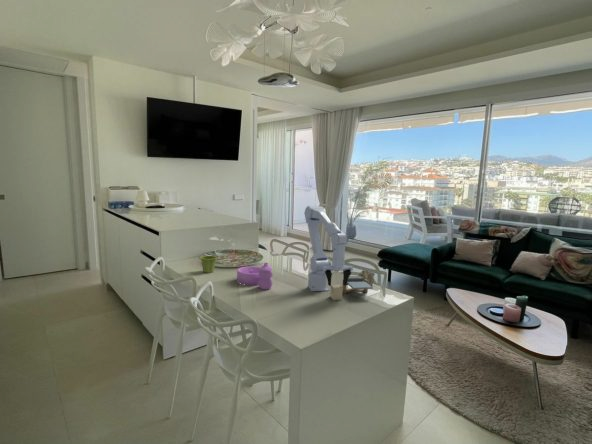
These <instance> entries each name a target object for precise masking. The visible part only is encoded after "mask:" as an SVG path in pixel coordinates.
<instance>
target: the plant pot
mask: <svg viewBox="0 0 592 444" xmlns="http://www.w3.org/2000/svg"><path fill="white" fill-rule="evenodd" d="M199 258H200V261H201V266H202V271H203V273H207V274H209V273H210V274H211V273H213V271H215V264H216V260H217V258H218V257H217V256H215V255H201V256H200V257H199Z"/></svg>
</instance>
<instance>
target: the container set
mask: <svg viewBox="0 0 592 444" xmlns="http://www.w3.org/2000/svg"><path fill="white" fill-rule="evenodd" d="M273 275H274V273H273V267H272V266H271V265H269V263H268V262H264V263H263V265H261V266H252V265H251V266H242V267H238V268H237V271H236V283H238V282H239V283H241V284H240V285H242V284H245V285H244V286H249V285H253V286H258V287H259V288H260V289H261V290H270V289H271V288H272V287H273V283H274V282H273V280H272V277H273ZM239 283H238V284H239Z"/></svg>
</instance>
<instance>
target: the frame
mask: <svg viewBox="0 0 592 444" xmlns="http://www.w3.org/2000/svg"><path fill="white" fill-rule="evenodd" d="M356 282H366V283H368V280H367V279H364V281H356ZM346 284H347V283H346ZM341 286H342V287H343V291H342V294H347V293H352V292H353V293H354V292H355V293H356V292H357V293H358V292H359V293H361V292H363V293H365V294H367V293H368V291H369V289H352V288H351V287H350V288H347V285H345V286H344V285H343V284H342V285H341Z"/></svg>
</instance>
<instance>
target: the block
mask: <svg viewBox="0 0 592 444" xmlns="http://www.w3.org/2000/svg"><path fill="white" fill-rule="evenodd" d="M342 291H343V287H342V285H341V284H331V286H330V292H329V293H330V298H331V299H332V300H333V301H336V300H340V301H341V300H343V292H342Z"/></svg>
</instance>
